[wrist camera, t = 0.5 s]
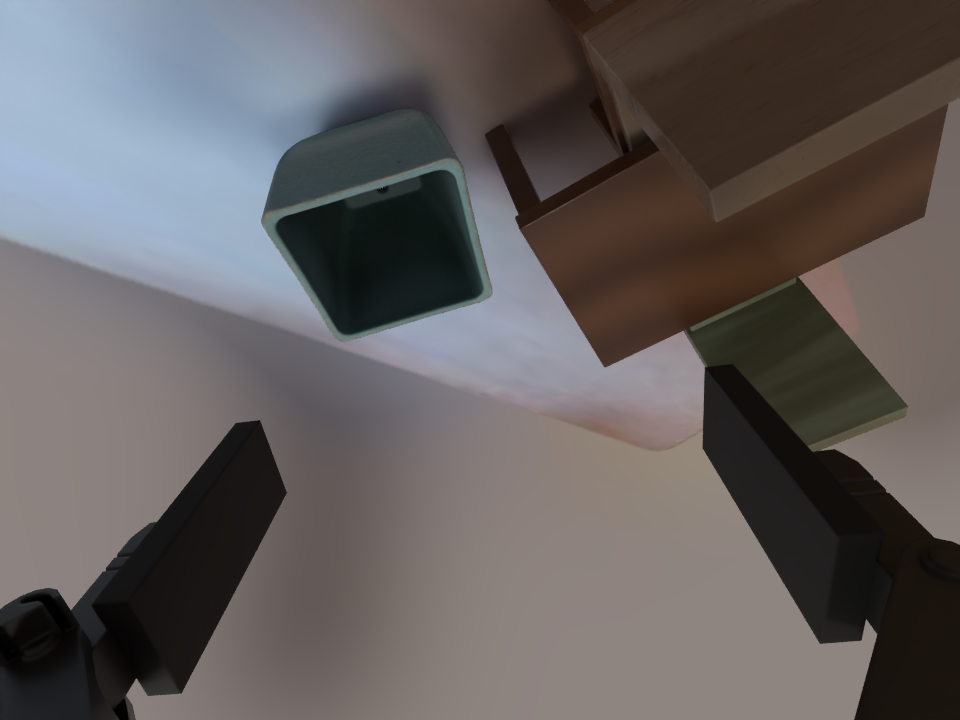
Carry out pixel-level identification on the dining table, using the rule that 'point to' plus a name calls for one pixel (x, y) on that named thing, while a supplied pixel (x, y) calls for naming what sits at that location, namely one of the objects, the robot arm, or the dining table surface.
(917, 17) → the taupe chair
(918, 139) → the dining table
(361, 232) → the flower pot
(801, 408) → the sage chair
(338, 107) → the dining table surface
